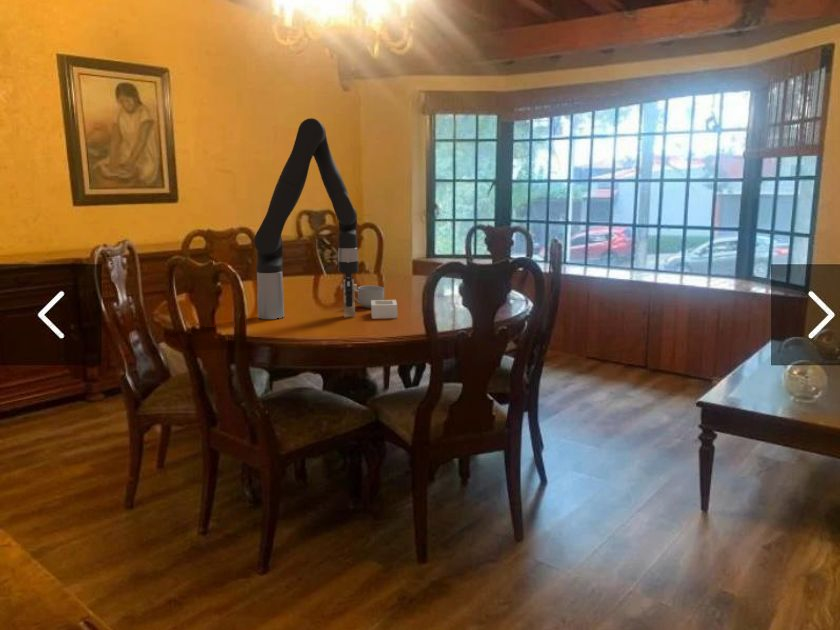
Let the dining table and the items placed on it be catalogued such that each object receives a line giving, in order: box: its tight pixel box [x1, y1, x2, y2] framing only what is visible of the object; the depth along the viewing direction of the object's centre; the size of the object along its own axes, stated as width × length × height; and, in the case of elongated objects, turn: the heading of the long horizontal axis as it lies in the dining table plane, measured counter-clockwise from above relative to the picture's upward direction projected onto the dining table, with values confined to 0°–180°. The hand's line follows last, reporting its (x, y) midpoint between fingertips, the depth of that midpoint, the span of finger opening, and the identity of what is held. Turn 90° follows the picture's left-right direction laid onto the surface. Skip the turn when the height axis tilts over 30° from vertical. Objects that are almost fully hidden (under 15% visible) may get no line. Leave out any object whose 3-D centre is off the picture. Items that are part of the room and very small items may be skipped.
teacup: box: [354, 285, 385, 309], centre depth 271 cm, size 14×11×8 cm
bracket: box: [340, 283, 358, 318], centre depth 251 cm, size 6×4×12 cm, turn 95°
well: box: [370, 299, 399, 320], centre depth 253 cm, size 10×11×5 cm
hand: (349, 305), depth 252 cm, fingers closed on bracket, 4 cm apart
